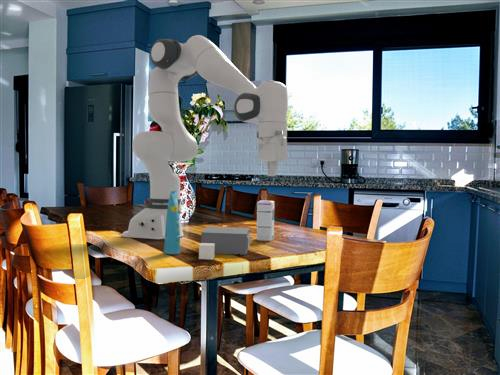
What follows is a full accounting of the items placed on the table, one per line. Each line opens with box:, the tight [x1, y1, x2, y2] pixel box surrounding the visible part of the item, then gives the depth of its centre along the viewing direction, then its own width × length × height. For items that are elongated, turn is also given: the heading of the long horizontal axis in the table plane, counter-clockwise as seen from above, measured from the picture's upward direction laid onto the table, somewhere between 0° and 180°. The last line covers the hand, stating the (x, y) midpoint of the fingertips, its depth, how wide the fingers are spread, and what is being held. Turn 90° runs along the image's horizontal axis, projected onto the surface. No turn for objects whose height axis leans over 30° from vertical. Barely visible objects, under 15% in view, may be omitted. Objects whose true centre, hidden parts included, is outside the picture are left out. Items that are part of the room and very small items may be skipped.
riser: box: [198, 242, 216, 260], centre depth 133 cm, size 4×4×4 cm
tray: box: [246, 232, 251, 251], centre depth 146 cm, size 13×11×4 cm
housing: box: [200, 226, 250, 256], centre depth 147 cm, size 14×14×6 cm
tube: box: [163, 190, 181, 255], centre depth 138 cm, size 7×5×19 cm, turn 3°
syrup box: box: [256, 200, 275, 242], centre depth 170 cm, size 6×6×14 cm
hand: (271, 176), depth 145 cm, fingers closed
